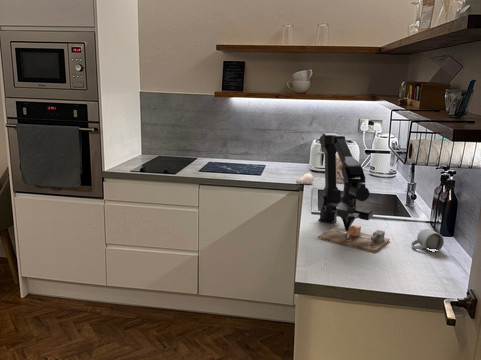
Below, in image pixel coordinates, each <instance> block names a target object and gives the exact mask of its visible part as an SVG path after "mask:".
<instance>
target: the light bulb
mask: <svg viewBox="0 0 481 360" xmlns="http://www.w3.org/2000/svg"><path fill="white" fill-rule="evenodd" d="M313 182H314V176H313V175H312V173H309V172H308V173H307V172H306V173H305V174H303V175H302V176H301V177H300V178H299V179H297V180H296V182H295V183H296V184H297V185H302V184H303V185H304V184H305V185H311V184H312V183H313Z"/></svg>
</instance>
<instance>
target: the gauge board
mask: <svg viewBox="0 0 481 360" xmlns="http://www.w3.org/2000/svg"><path fill="white" fill-rule="evenodd" d="M385 234H386V231H384V230H379V229H377V230H375V231H374V232H373V233H372V234H369V233H364V232H361V231H360V234H358V235H357V236H352V235H349V239H347V231H346V230H345V227H338V226H336V225H335V226H332V227H331V228H329V229H328V230H326V231H325V232H323V233H321V234H319V235H317V239H318V238H321V239H320V240H322V239H324V240H323V241H326V240H328V241H327V242H330V241H332V242H331V243H334V242H335V244H338V243H339V245H342V244H343V246H346V245H347V247H350V246H351V248H354V247H356V249H358V248H359V250H362V249H363V250H362V251H366V250H367V252H370V251H371V253H374V252H376V253H377V252H378V251H380V250H381V249H382V248H384V247H385V246H386V245H387V244H388V243H389V242H390V241H391V240H390V238H387V237H385ZM389 240H390V241H389ZM388 241H389V242H388ZM387 242H388V243H387ZM386 243H387V244H386ZM385 244H386V245H385Z"/></svg>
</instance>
